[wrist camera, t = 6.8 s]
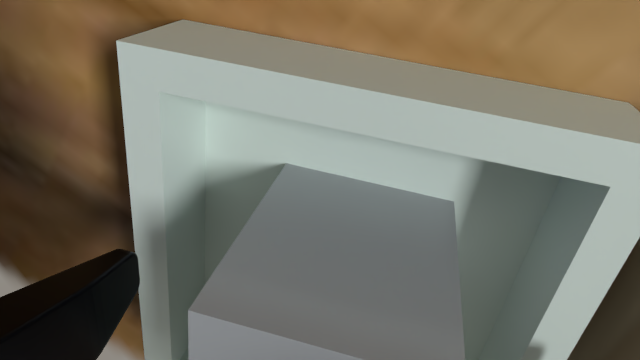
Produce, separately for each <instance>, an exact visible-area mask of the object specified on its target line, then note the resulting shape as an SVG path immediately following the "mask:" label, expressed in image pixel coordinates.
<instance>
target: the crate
mask: <svg viewBox="0 0 640 360" xmlns="http://www.w3.org/2000/svg"><path fill="white" fill-rule="evenodd" d="M567 360H640V237H639V239H638V241H637V243H636V244H635V246H634V248H633V249H632V251H631V253H630V254H629V256H628V258H627V259H626V261H625V263H624V264H623V266H622V268H621V269H620V271H619V273H618V275H617V276H616V278H615V280H614V281H613V283H612V285H611V286H610V288H609V290H608V291H607V293H606V295H605V296H604V298H603V300H602V302H601V303H600V305H599V307H598V308H597V310H596V312H595V313H594V315H593V317H592V318H591V320H590V322H589V323H588V325H587V327H586V328H585V330H584V332H583V334H582V335H581V337H580V339H579V340H578V342H577V344H576V345H575V347H574V349H573V350H572V352H571V354H570V355H569V357H568V359H567Z"/></svg>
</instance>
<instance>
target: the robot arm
mask: <svg viewBox="0 0 640 360" xmlns="http://www.w3.org/2000/svg"><path fill="white" fill-rule="evenodd" d="M139 285H140V275H139V264H138V256H137V255H136V253H134V252H131V251H127V250H123V249H116V250H113V251H111V252H109V253H106V254H104V255H101V256H99V257H96V258H94V259H92V260H89V261H87V262H84V263H82V264H80V265H77V266H75V267H72V268H70V269H68V270H65V271H63V272H60V273H58V274H55V275H53V276H51V277H48V278H46V279H43V280H41V281H39V282H36V283H34V284H31V285H29V286H26V287H24V288H22V289H19V290H17V291H14V292H12V293H10V294H7V295H5V296H2V297H0V360H96V359H97V358H98V356H99V355H100V354H101V352H102V350H103V349H104V347H105V346H106V344H107V342H108V341H109V339H110V337H111V336H112V334H113V332H114V330H115V329H116V327H117V325H118V324H119V322H120V320H121V318H122V317H123V315H124V313H125V312H126V310H127V308H128V306H129V305H130V303H131V301H132V299H133V298H134V296H135V294H136V293H137V291H138V288H139Z"/></svg>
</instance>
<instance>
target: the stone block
mask: <svg viewBox="0 0 640 360" xmlns="http://www.w3.org/2000/svg"><path fill="white" fill-rule="evenodd" d="M188 353H189V360H465V350H464V336H463V322H462V307H461V293H460V279H459V265H458V250H457V236H456V222H455V208H454V201H449V200H445V199H441V198H436V197H432V196H428V195H423V194H419V193H414V192H410V191H406V190H401V189H397V188H393V187H388V186H384V185H379V184H375V183H371V182H366V181H362V180H358V179H353V178H349V177H344V176H340V175H336V174H331V173H327V172H323V171H318V170H314V169H309V168H305V167H301V166H296V165H292V164H288V163H286V165H285V166H284V168H283V169H282V170H281V172H280V173H279V175H278V176H277V178H276V179H275V181H274V182H273V184H272V185H271V187H270V188H269V190H268V191H267V193H266V194H265V196H264V197H263V199H262V200H261V202H260V203H259V205H258V206H257V208H256V209H255V211H254V212H253V214H252V215H251V217H250V218H249V220H248V221H247V223H246V224H245V226H244V227H243V229H242V230H241V232H240V233H239V235H238V236H237V238H236V239H235V241H234V242H233V244H232V245H231V247H230V248H229V250H228V251H227V253H226V254H225V256H224V257H223V259H222V260H221V262H220V263H219V265H218V266H217V268H216V269H215V271H214V272H213V274H212V275H211V277H210V278H209V280H208V281H207V283H206V284H205V286H204V287H203V289H202V290H201V292H200V293H199V295H198V296H197V298H196V299H195V301H194V302H193V303H192V305H191V306H190V308H189V309H188Z"/></svg>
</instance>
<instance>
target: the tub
mask: <svg viewBox="0 0 640 360" xmlns="http://www.w3.org/2000/svg"><path fill="white" fill-rule="evenodd" d="M116 44H117V55H118V66H119V78H120V89H121V100H122V111H123V122H124V133H125V145H126V156H127V167H128V178H129V189H130V200H131V211H132V223H133V234H134V245H135V253H136V255H137V256H138V264H139V275H140V285H139V288H138V289H139V301H140V312H141V323H142V334H143V345H144V356H145V360H189V353H188V309H189V308H190V306H191V305H192V303H193V302H194V301H195V299H196V298H197V296H198V295H199V293H200V292H201V290H202V289H203V287H204V286H205V284H206V283H207V281H208V280H209V278H210V277H211V275H212V274H213V272H214V271H215V269H216V268H217V266H218V265H219V263H220V262H221V260H222V259H223V257H224V256H225V254H226V253H227V251H228V250H229V248H230V247H231V245H232V244H233V242H234V241H235V239H236V238H237V236H238V235H239V233H240V232H241V230H242V229H243V227H244V226H245V224H246V223H247V221H248V220H249V218H250V217H251V215H252V214H253V212H254V211H255V209H256V208H257V206H258V205H259V203H260V202H261V200H262V199H263V197H264V196H265V194H266V193H267V191H268V190H269V188H270V187H271V185H272V184H273V182H274V181H275V179H276V178H277V176H278V175H279V173H280V172H281V170H282V169H283V168H284V166H285V165H286V163H288V164H292V165H296V166H301V167H305V168H309V169H314V170H318V171H323V172H327V173H331V174H336V175H340V176H344V177H349V178H353V179H358V180H362V181H366V182H371V183H375V184H379V185H384V186H388V187H393V188H397V189H401V190H406V191H410V192H414V193H419V194H423V195H428V196H432V197H436V198H441V199H445V200H449V201H454V208H455V222H456V236H457V250H458V265H459V279H460V293H461V307H462V322H463V336H464V350H465V360H567V359H568V357H569V355H570V354H571V352H572V350H573V349H574V347H575V345H576V344H577V342H578V340H579V339H580V337H581V335H582V334H583V332H584V330H585V328H586V327H587V325H588V323H589V322H590V320H591V318H592V317H593V315H594V313H595V312H596V310H597V308H598V307H599V305H600V303H601V302H602V300H603V298H604V296H605V295H606V293H607V291H608V290H609V288H610V286H611V285H612V283H613V281H614V280H615V278H616V276H617V275H618V273H619V271H620V269H621V268H622V266H623V264H624V263H625V261H626V259H627V258H628V256H629V254H630V253H631V251H632V249H633V248H634V246H635V244H636V243H637V241H638V239H639V237H640V112H639V111H638V110H637V109H636V108H635V107H633V106H632V105H631V104H630V103H628V102H622V101H617V100H612V99H606V98H601V97H596V96H590V95H585V94H579V93H574V92H569V91H563V90H558V89H553V88H547V87H542V86H537V85H531V84H526V83H521V82H515V81H510V80H504V79H499V78H494V77H488V76H483V75H478V74H472V73H467V72H462V71H456V70H451V69H445V68H440V67H435V66H429V65H424V64H419V63H413V62H408V61H403V60H397V59H392V58H387V57H381V56H376V55H370V54H365V53H360V52H354V51H349V50H344V49H338V48H333V47H328V46H322V45H317V44H312V43H306V42H301V41H295V40H290V39H285V38H279V37H274V36H269V35H263V34H258V33H253V32H247V31H242V30H236V29H231V28H226V27H220V26H215V25H210V24H204V23H199V22H194V21H188V20H180V21H177V22H174V23H170V24H167V25H164V26H161V27H158V28H154V29H151V30H148V31H145V32H142V33H139V34H135V35H132V36H129V37H126V38H123V39H120V40H116Z"/></svg>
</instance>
